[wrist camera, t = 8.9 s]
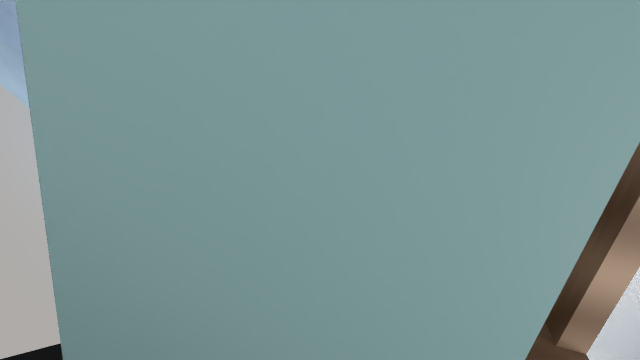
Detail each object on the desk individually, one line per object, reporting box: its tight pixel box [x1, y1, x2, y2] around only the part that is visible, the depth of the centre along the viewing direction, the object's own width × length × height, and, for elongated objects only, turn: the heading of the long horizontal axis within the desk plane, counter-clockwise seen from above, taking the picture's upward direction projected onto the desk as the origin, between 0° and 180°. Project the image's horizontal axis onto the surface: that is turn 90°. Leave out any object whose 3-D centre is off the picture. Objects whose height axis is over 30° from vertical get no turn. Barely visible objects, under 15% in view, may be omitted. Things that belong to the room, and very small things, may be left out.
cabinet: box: [525, 142, 640, 360], centre depth 19 cm, size 19×16×8 cm
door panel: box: [15, 0, 640, 360], centre depth 8 cm, size 14×3×10 cm, turn 170°
